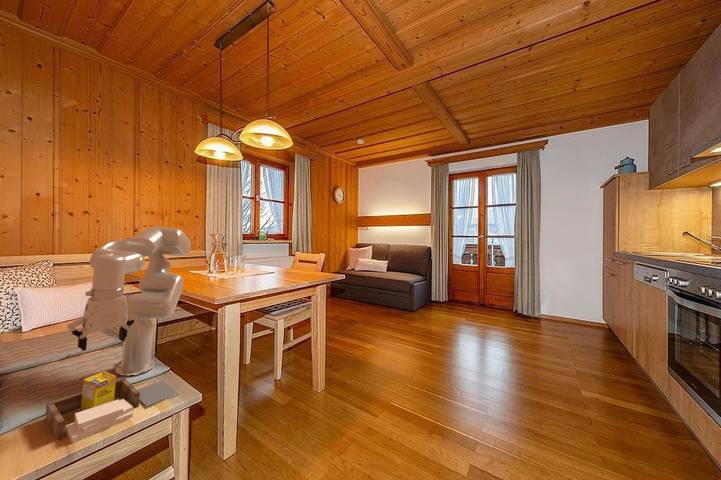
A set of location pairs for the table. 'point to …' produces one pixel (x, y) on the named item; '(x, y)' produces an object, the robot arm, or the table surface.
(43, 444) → the table surface
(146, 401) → the rubber mat
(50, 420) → the brown wooden tray
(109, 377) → the supplement box
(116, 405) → the offcut stack
